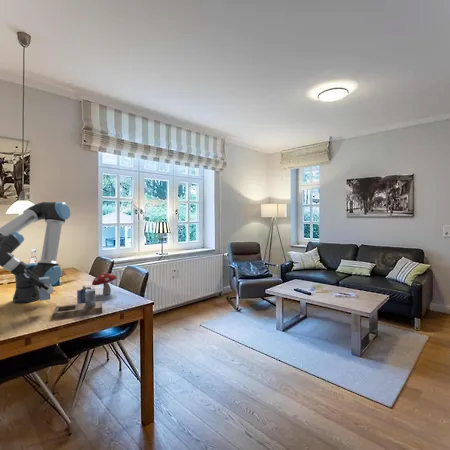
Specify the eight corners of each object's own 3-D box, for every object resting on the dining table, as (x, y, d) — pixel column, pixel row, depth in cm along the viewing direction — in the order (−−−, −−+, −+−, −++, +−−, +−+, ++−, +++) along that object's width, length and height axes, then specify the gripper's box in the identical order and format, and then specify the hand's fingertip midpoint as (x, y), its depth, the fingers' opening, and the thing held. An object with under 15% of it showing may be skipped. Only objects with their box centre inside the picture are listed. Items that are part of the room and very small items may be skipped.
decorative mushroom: (97, 299, 183) (97, 276, 182) (88, 294, 194) (87, 272, 193) (121, 294, 194) (120, 272, 193) (111, 289, 205) (110, 269, 204)
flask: (79, 305, 172) (78, 287, 171) (75, 304, 173) (75, 287, 173) (92, 301, 180) (92, 284, 179) (89, 300, 181) (89, 283, 181)
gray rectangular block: (39, 300, 156) (38, 279, 156) (39, 298, 161) (38, 277, 160) (50, 299, 159) (49, 278, 158) (50, 296, 163) (49, 276, 163)
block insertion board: (53, 319, 150) (52, 296, 149) (56, 311, 161) (55, 290, 160) (102, 312, 159) (101, 291, 159) (102, 305, 170) (101, 286, 170)
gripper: (10, 268, 158) (46, 292, 168) (8, 275, 143) (47, 300, 153) (21, 258, 160) (56, 282, 171) (20, 263, 145) (58, 289, 156)
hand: (52, 291), depth 162 cm, fingers closed on gray rectangular block, 5 cm apart
